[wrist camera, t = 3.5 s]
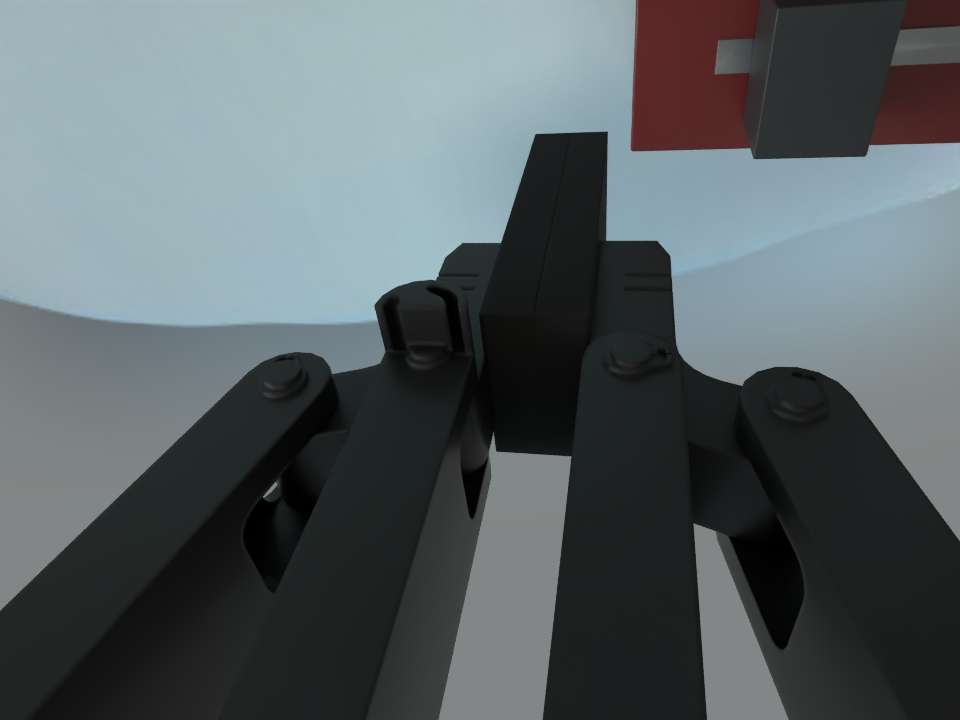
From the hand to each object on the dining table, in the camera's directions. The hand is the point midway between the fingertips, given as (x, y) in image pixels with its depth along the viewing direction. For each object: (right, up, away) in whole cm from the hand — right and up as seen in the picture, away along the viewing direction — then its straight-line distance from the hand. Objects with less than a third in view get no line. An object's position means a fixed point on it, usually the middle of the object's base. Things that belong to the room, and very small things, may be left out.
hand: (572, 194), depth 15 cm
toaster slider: (+8, +6, +5) cm, 11 cm away
